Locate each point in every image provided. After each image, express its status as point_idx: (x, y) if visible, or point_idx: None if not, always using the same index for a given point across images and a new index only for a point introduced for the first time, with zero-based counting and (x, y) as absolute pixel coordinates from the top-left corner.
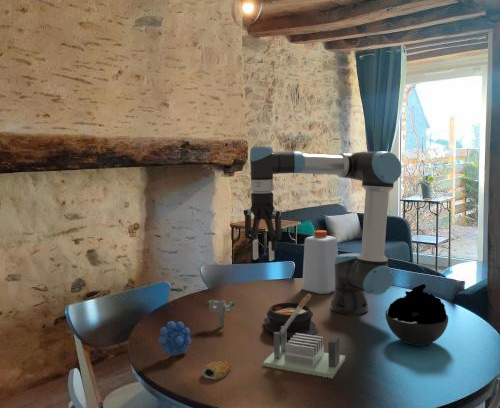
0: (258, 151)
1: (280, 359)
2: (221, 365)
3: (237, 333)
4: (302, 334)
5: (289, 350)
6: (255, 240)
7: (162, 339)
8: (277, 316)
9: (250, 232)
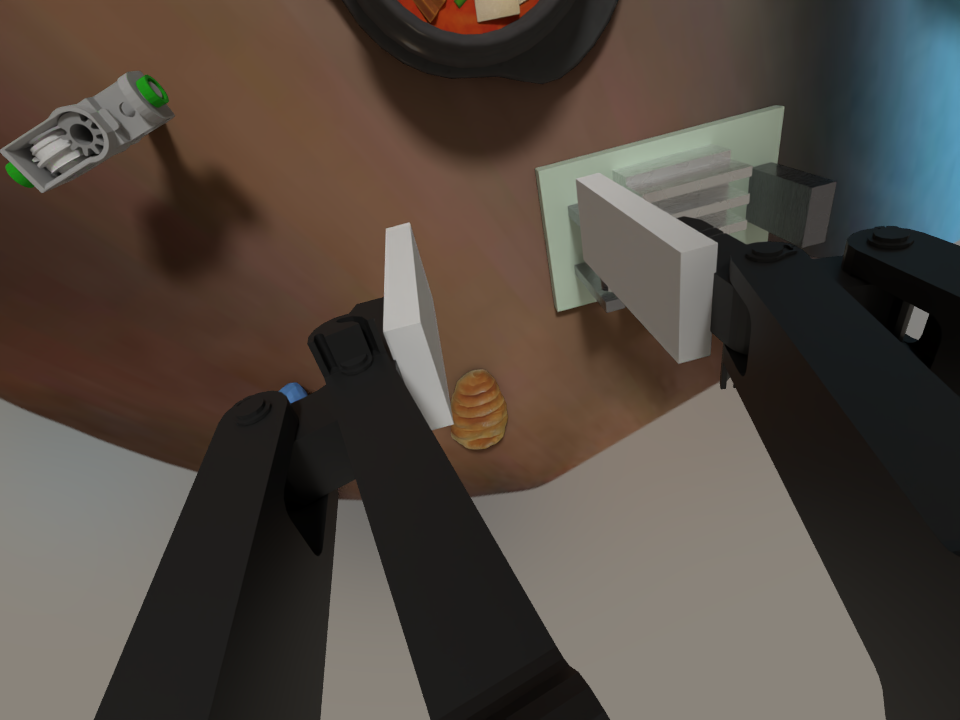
0: None
1: None
2: (496, 420)
3: (280, 137)
4: (671, 192)
5: None
6: (433, 389)
7: None
8: (467, 53)
9: (287, 472)
